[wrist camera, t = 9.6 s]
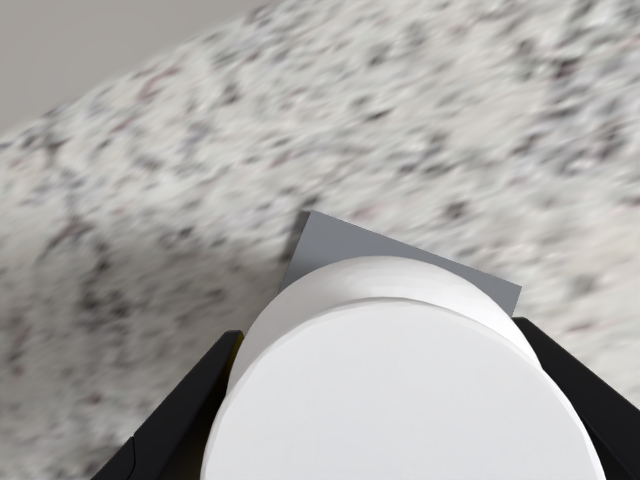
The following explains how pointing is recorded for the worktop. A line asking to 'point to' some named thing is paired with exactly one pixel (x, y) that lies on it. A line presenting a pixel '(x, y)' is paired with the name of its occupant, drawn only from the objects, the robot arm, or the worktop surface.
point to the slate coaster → (352, 241)
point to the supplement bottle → (392, 386)
